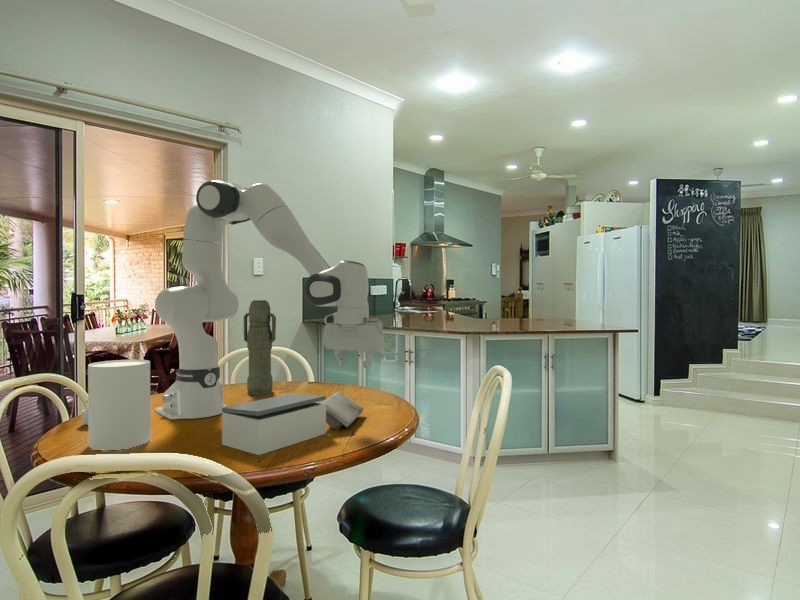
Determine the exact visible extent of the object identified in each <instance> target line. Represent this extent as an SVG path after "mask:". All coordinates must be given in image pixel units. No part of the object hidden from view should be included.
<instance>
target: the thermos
mask: <svg viewBox="0 0 800 600" xmlns="http://www.w3.org/2000/svg"><path fill="white" fill-rule="evenodd" d="M248 322H249V326H248ZM276 328H277V317H276V315H275V314H274V313H271V306H270V303H269V301H267V300H265V299H264V300H261V299H260V300H259V299H257V300H252V301H251V302H250V304H249V308H248V312H246V313H245V315H244V316H243V341H244V342H246V343H247V344H246V345H247V351H248V377H247V380H246V381H247V383H246V384H247V386H246V387H247V388H246V389H247V394H248V395H250V396H251V395H253V396H263V395H269V394H271V393H272V392H273V375H272V349H273V342H275V341H276V340H277V339H276V338H277V337H276V332H277V329H276Z"/></svg>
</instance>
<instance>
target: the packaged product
mask: <svg viewBox="0 0 800 600" xmlns="http://www.w3.org/2000/svg"><path fill="white" fill-rule="evenodd" d="M320 403H324V404H326V425H327V426H329V427H330V428H331V429H332V430H334V429H335V430H337V431H338V430H339V429H340V428H341V427H342V426H344V427H346V428H348V427H349V426H350V425H351V424H352V423H353V422H354V421H355V420H356V419H357V418H358V417H359V416H360V415H362V413H363V411H364V409H365V408H364V407H363V406H361V405H360V404H358V403H357V402H356V401H354V400H352V399H351V398H350V397H348V396H346V395H345V394H343V393H342V392H340V391H339V390H338V391H336V392H335V393H333V394H331V395H330V396H328V397H326V400H322V401H320Z"/></svg>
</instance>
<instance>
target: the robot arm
mask: <svg viewBox="0 0 800 600" xmlns="http://www.w3.org/2000/svg"><path fill="white" fill-rule="evenodd" d="M195 201H196V204H195V205H192V206H191V207H190V208H189V210H188V212H187V214H186V218H185V222H184V223H185V224H184V228H183V238H182V239H183V240H182V252H181V265H182V266H183V268H184V269H185V270H186V271H187V272H189V273H190V274H191V275H193V276H194V278H195V282H196V286H181V285H180V286H174V287H173V286H172V287H168V288H164V289H161V291H160V292H159V293H158V294H157V295H156V298H155V301H154V308H155V312H156V314H157V316H158V317H159V319H161V320H162V322H164V323H166V324H167V325H168V326H169V327H170V328H171V330H172V331H173V333H174V335H175V338H176V340H177V345H178V354H179V356H178V357H179V367H178V369H175V371H176V372H175V374H176V377H175V381H174V383H173V384H171V386H169V388H167V389H166V390H165V391H164V394H163V395H162V402H163V405H161V406H158V407H156V408H155V409H154V412H155V413H157V414H159V415H161V416H163V417H165V418H167V419H168V420H180V419H181V420H182V419H187V420H188V419H189V420H190V419H202V418H209V417H214V416H217V415H222V408H223V407H228V406H227V404H225V401H224V400H225V398H224V390H223V384H222V382H221V381H220V380H219V379H220V378H221V368H220V366H219V344H218V341H217V340H216V339H215V337H213V336H212V335H210V334H208V333H206V331H205V329H204V326H203V323H211V322H212V323H214V322H221V321H225V320H228V319H231V318H233V317H234V316H235V315H236V314H237V312H238V309H239V299H238V296H237V294H236V292H235V291H233V290H232V288H231V287H229V285H228V284H227V282H226V279H225V277H224V274H223V269H222V253H223V250H222V248H223V233H224V228H225V227H226V225H228V224H229V225H231V226H232V225H237V224H241V223H246V222H249V221H251V223H252V224H253V225H254V227H255V228H256V229H257V231H258V233H259V234H260V235H261V236H262V237H263V238H264V240H265V241H267V243H269V245H271V246H273V247H274V248H276V249H278V250H281V251H283V252H285V253H287V254H289V255H290V256H292V257H293V258H294V259H296V260H297V261H298V262H299V263H300V264H301V266H302V267H303V268H304V269H305V271H306V273H308V275H309V277H307V279H306V281H305V282H304V285H303V294H304V297H305V299H306V300H307V301H308V302H309V303H310V304H311V305H314V306H316V307H330V308H337V311H335V312H333V313H331V314H329V315H328V314H327V315H326V316H325V317H324V319H323V321H324V322H323V323H324V324H326V325H325V326H324V330H323V345H324V347H325V349H327V350H334V351H333V353H334V356H335V357H336V360H337V366H340V367H341V366H343V367H344V366H346V359H345V358H344V356H343V355H342V353H344V351H350V352H353V351H354V352H363V353H365V354H364V355H365V357H366V358H365V360H364V361H362V368H364V369H370V368H371V365H372V360H373V358H374V356H375V353H379V352H381V353H382V352H384V350H385V348H386V344H385V343H386V342H385V334H384V324H383V322H382V321H381V320H380V319H379V318H377V317H374V318H373V317H370V312H369V311H370V308H369V307H370V305H369V301H368V297H369V290H370V289H369V276H368V270H367V266H365V265H364V264H363V263H361V262H357V261H353V260H347V259H346V260H340V261H338V263H336V264H335V265H334V266H332V267H331V266H330V265H329V264H328V263H327V261H325V259H324V257H322V255H321V254H320V252H319V251H318V250H317V248H315V246H314V245H313V244H312V242H311V241H310V239H309V237H308V236H307V235H306V233H305V231H304V229H303V228H302V226H301V225H300V223H299V221H298V220H297V218H296V217H295V215H294V213H293V212H292V210H291V209H290V207H289V206H288V205H287V203H286V202H285V201H284V200H283V198H282V197H281V196H280V195H279V194H278V193H277V192H276V191H275V190H274V189H273V188H272V187H271V186H269V185H268V184H266V183H263V182H259V183H255V184H252V185H250V186H249V187H248V188H247V187H243V186H241V185H239V184H236V183H233V182H232V183H231V182H227V181H226V182H225V181H223V180H217V179H216V180H209V181H205V182H204V183H201V185H200V186H199V187H198V189H197V192H196V197H195Z"/></svg>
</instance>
